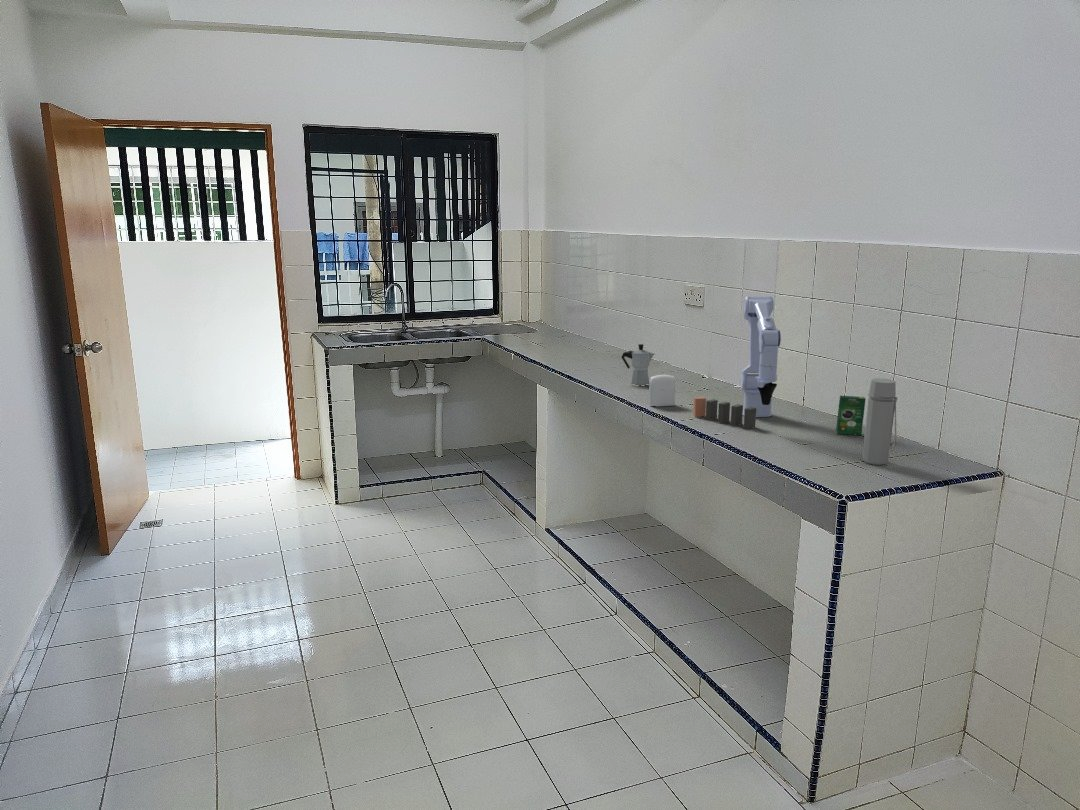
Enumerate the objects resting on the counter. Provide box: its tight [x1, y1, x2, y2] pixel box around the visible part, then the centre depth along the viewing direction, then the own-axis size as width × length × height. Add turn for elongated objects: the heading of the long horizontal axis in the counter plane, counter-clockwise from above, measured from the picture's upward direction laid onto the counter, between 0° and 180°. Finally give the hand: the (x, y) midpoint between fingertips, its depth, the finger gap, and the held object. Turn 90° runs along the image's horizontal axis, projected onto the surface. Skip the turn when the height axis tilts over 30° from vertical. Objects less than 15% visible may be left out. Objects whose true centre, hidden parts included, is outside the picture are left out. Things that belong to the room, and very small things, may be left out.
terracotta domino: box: [692, 396, 707, 418], centre depth 285 cm, size 2×4×7 cm, turn 98°
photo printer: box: [648, 374, 676, 407], centre depth 301 cm, size 10×4×12 cm, turn 96°
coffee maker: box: [621, 343, 655, 385], centre depth 340 cm, size 15×9×18 cm, turn 84°
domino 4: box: [743, 407, 757, 430], centre depth 269 cm, size 2×4×7 cm, turn 130°
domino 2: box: [717, 401, 731, 424], centre depth 277 cm, size 2×4×7 cm, turn 131°
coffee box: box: [835, 395, 866, 436], centre depth 259 cm, size 8×3×13 cm, turn 77°
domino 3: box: [730, 403, 744, 427], centre depth 273 cm, size 2×4×7 cm, turn 130°
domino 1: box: [705, 398, 719, 421], centre depth 281 cm, size 2×4×7 cm, turn 130°
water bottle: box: [862, 378, 898, 466], centre depth 227 cm, size 9×8×25 cm
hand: (765, 404), depth 263 cm, fingers closed
